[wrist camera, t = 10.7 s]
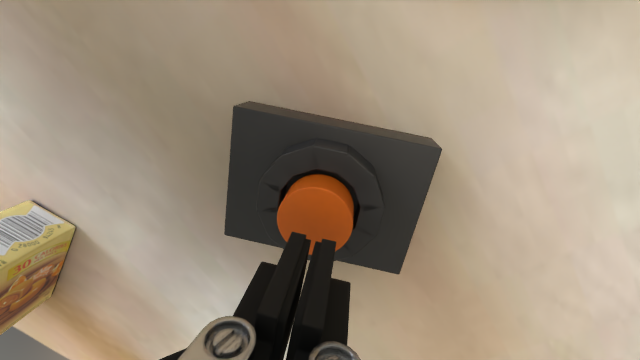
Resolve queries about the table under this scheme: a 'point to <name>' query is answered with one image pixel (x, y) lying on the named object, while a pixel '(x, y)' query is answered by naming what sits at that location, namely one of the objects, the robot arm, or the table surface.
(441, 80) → the table surface
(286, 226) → the button
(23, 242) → the candy box
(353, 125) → the button box
